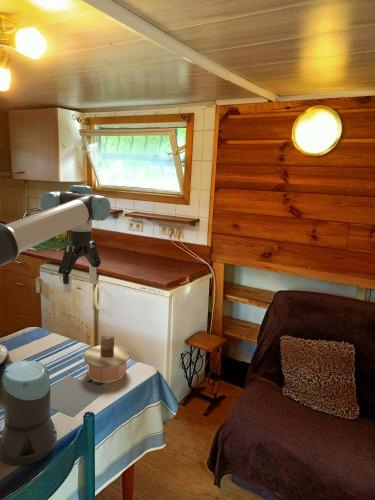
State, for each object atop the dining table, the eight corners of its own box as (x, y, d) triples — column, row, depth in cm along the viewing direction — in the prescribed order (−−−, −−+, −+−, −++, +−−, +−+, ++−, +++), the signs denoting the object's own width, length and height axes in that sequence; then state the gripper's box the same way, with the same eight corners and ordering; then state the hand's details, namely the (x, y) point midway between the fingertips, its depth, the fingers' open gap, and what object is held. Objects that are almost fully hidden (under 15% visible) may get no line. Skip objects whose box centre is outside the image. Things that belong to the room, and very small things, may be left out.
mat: (73, 418, 117) (73, 417, 116) (30, 401, 124) (30, 400, 123) (107, 390, 133) (107, 389, 133) (68, 376, 140) (68, 375, 140)
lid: (112, 372, 131) (113, 351, 130) (74, 360, 138) (74, 340, 136) (137, 353, 146) (138, 334, 145) (102, 343, 153) (102, 325, 152)
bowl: (111, 387, 135) (111, 369, 133) (80, 376, 140) (80, 359, 139) (131, 370, 147) (132, 353, 146) (103, 361, 153) (103, 345, 151)
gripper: (64, 235, 118) (64, 299, 122) (111, 227, 140) (109, 281, 144) (46, 232, 121) (47, 294, 125) (94, 225, 143) (94, 278, 147)
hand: (80, 287), depth 135 cm, fingers open, 13 cm apart
